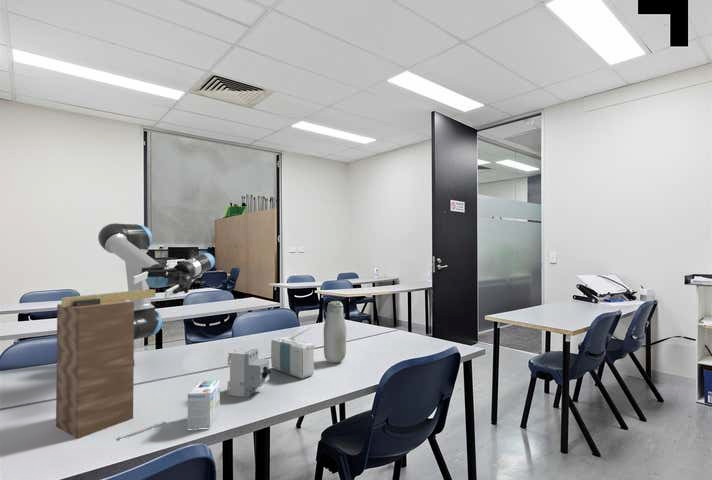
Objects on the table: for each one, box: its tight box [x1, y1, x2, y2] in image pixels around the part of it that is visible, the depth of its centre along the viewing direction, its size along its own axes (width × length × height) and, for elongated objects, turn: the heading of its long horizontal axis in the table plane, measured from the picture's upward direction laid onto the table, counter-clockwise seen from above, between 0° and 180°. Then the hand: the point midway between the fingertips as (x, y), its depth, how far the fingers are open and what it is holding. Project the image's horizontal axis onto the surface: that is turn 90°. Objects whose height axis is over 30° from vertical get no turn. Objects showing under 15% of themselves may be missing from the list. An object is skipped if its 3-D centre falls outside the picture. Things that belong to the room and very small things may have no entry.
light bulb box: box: [187, 380, 221, 429], centre depth 116 cm, size 11×7×11 cm, turn 5°
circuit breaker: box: [227, 347, 272, 398], centre depth 140 cm, size 8×14×15 cm, turn 78°
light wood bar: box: [60, 288, 156, 307], centre depth 121 cm, size 3×26×2 cm, turn 148°
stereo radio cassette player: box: [270, 326, 316, 380], centre depth 162 cm, size 21×8×20 cm, turn 47°
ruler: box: [117, 420, 167, 441], centre depth 111 cm, size 12×1×1 cm, turn 139°
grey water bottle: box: [323, 300, 347, 364], centre depth 176 cm, size 10×10×28 cm
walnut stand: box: [55, 299, 135, 439], centre depth 117 cm, size 14×15×38 cm
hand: (149, 287), depth 138 cm, fingers open, 13 cm apart
